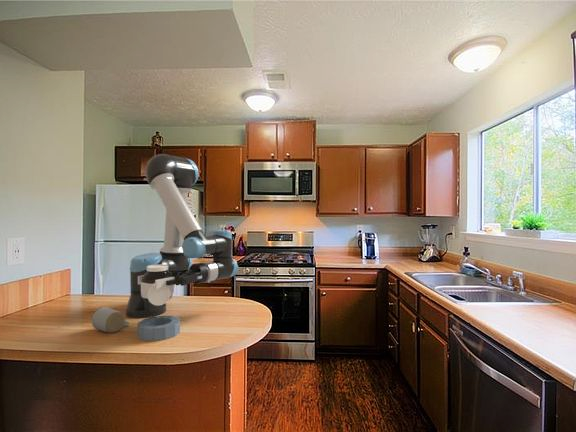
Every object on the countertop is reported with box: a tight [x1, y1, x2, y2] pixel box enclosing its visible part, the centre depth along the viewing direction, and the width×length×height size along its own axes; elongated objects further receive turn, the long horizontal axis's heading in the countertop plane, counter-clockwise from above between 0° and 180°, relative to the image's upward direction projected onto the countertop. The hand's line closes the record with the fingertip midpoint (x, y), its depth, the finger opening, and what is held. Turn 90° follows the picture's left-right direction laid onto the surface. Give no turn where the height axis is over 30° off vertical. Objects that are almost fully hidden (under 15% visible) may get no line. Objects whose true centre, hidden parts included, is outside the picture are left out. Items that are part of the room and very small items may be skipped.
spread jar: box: [141, 264, 175, 306], centre depth 110 cm, size 12×11×12 cm
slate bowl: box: [136, 315, 181, 342], centre depth 111 cm, size 13×13×4 cm
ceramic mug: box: [91, 306, 130, 334], centre depth 115 cm, size 11×8×8 cm
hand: (146, 282), depth 108 cm, fingers closed on spread jar, 10 cm apart
